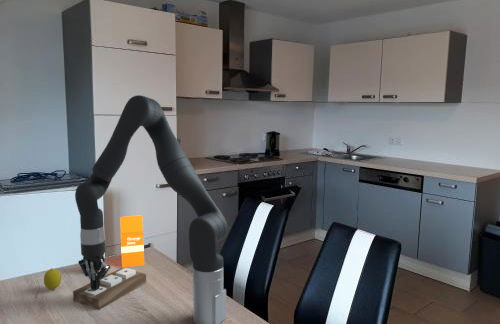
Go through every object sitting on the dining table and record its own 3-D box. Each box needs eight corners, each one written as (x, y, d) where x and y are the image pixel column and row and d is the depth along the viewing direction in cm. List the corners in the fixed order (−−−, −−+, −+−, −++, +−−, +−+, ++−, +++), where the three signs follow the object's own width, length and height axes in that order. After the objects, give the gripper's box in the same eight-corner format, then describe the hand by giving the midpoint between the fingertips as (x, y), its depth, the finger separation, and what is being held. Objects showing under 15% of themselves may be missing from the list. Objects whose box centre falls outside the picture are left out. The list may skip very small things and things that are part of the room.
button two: (122, 284, 141) (121, 277, 140) (111, 290, 136) (110, 282, 136) (111, 281, 143) (111, 274, 143) (100, 287, 139) (100, 279, 138)
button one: (136, 276, 147) (135, 270, 146) (126, 282, 142) (125, 275, 142) (126, 274, 149) (125, 267, 149) (115, 279, 145) (115, 272, 144)
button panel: (146, 283, 147) (146, 274, 146) (99, 309, 128) (98, 299, 127) (122, 276, 152) (121, 267, 152) (73, 301, 133) (73, 291, 132)
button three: (106, 295, 135) (106, 288, 134) (94, 301, 130) (94, 294, 130) (96, 292, 137) (95, 284, 137) (84, 298, 133) (83, 290, 132)
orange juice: (122, 260, 168) (120, 214, 165) (143, 257, 171) (142, 212, 168) (121, 267, 161) (120, 219, 158) (144, 265, 163) (142, 217, 160)
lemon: (41, 291, 140) (39, 269, 138) (55, 285, 144) (53, 264, 143) (51, 295, 137) (49, 273, 136) (65, 288, 142) (64, 267, 141)
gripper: (116, 239, 131) (118, 289, 134) (88, 233, 137) (90, 280, 140) (98, 247, 125) (100, 298, 127) (69, 239, 131) (72, 289, 133)
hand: (95, 289), depth 133 cm, fingers closed
